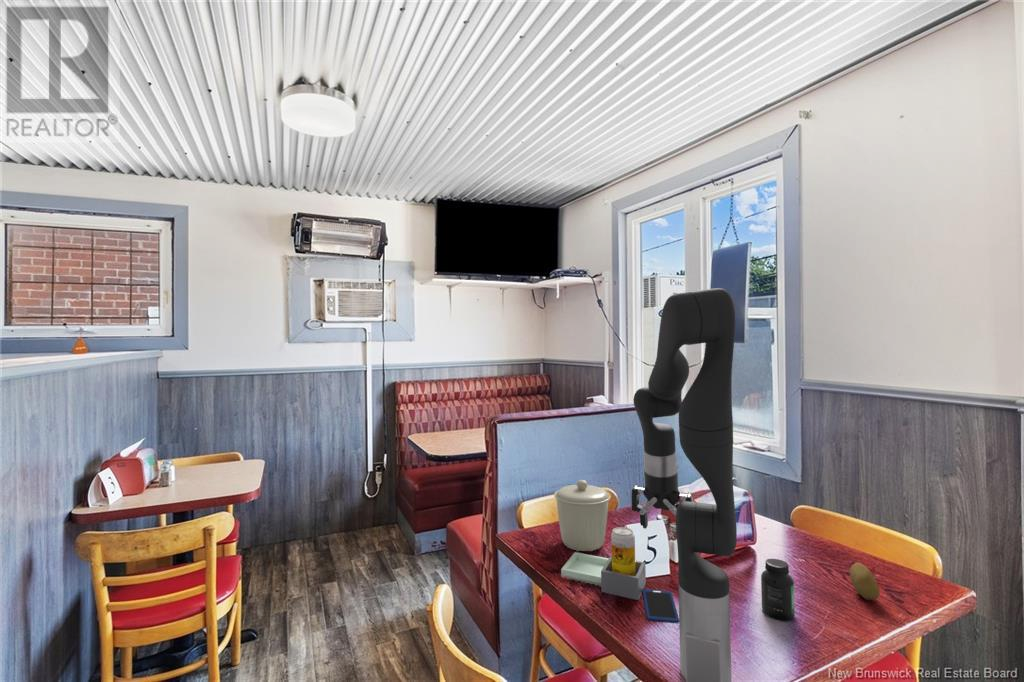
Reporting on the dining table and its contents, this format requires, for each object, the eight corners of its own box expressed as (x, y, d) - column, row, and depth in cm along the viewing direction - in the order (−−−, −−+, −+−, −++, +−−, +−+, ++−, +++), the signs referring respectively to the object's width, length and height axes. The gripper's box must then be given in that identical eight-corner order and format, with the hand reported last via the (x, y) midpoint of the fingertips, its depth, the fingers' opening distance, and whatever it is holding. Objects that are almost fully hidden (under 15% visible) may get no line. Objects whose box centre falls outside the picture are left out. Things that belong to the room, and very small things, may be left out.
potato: (876, 608, 114) (875, 575, 114) (840, 594, 120) (840, 563, 120) (889, 600, 117) (888, 567, 117) (854, 587, 124) (853, 556, 124)
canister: (546, 538, 158) (545, 475, 159) (595, 531, 164) (594, 470, 164) (569, 561, 141) (567, 491, 141) (622, 553, 146) (621, 484, 147)
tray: (603, 586, 126) (603, 577, 126) (561, 577, 131) (561, 569, 131) (614, 567, 137) (614, 559, 137) (575, 560, 142) (575, 552, 142)
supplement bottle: (801, 619, 110) (800, 567, 110) (776, 623, 108) (775, 571, 108) (779, 604, 116) (778, 555, 116) (755, 607, 115) (754, 558, 115)
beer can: (609, 590, 124) (608, 533, 124) (615, 579, 130) (614, 525, 130) (632, 595, 121) (631, 537, 122) (638, 584, 127) (636, 528, 127)
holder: (638, 600, 119) (638, 578, 119) (601, 592, 123) (601, 570, 123) (645, 582, 128) (645, 562, 128) (610, 575, 132) (610, 556, 132)
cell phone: (671, 593, 123) (671, 590, 123) (679, 624, 109) (679, 621, 109) (642, 591, 124) (642, 588, 124) (647, 621, 110) (647, 618, 110)
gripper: (626, 471, 111) (630, 533, 114) (690, 480, 104) (692, 545, 107) (634, 457, 118) (637, 516, 121) (694, 465, 111) (696, 527, 114)
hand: (663, 530), depth 114 cm, fingers open, 8 cm apart
